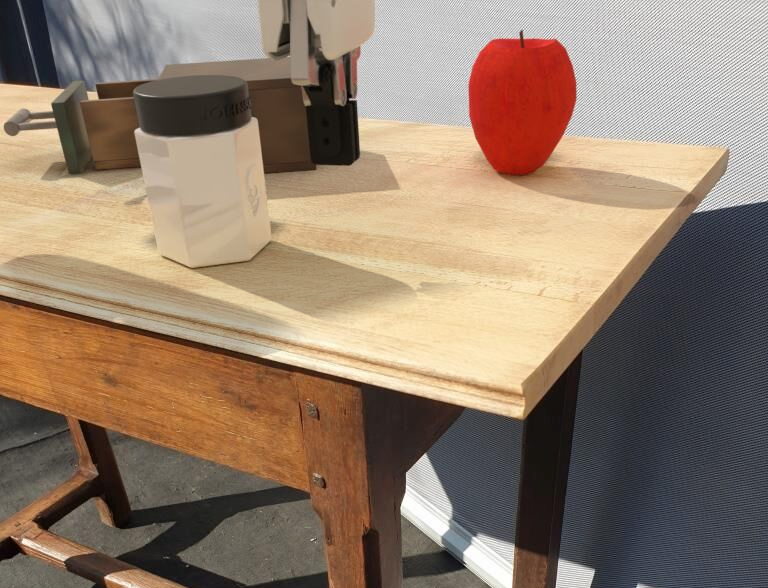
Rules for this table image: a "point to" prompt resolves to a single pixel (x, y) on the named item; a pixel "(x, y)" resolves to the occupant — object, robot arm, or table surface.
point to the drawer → (90, 125)
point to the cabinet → (266, 107)
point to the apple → (521, 101)
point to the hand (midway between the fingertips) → (335, 161)
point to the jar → (202, 169)
